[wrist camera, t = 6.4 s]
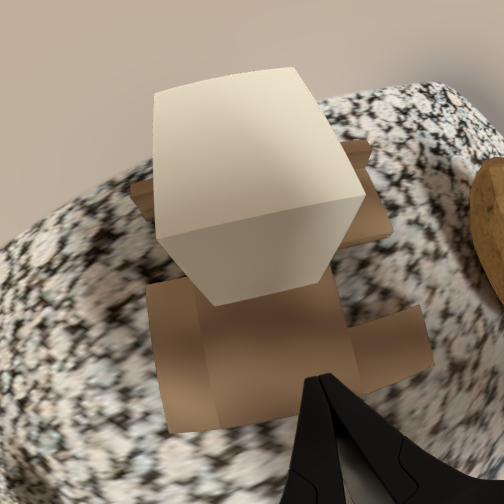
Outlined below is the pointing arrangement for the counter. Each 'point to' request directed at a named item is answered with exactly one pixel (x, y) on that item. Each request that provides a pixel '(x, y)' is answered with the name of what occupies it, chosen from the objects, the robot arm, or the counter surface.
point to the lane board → (274, 336)
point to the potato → (489, 221)
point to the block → (249, 184)
